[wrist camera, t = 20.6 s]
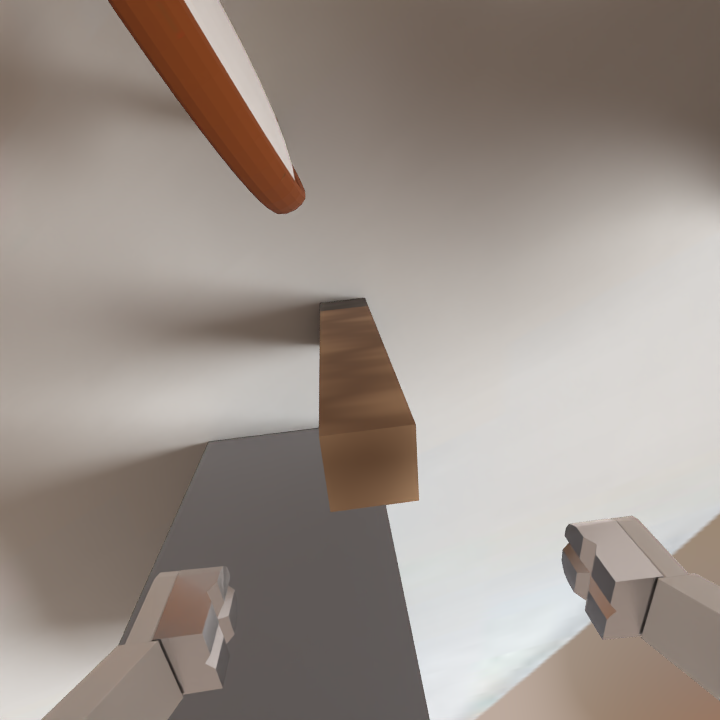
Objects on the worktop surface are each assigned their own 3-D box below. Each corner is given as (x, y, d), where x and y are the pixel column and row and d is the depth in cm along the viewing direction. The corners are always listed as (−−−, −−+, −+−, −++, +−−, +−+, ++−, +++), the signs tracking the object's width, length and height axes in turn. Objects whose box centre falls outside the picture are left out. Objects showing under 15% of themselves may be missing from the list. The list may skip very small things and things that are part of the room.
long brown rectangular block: (364, 298, 27) (415, 424, 13) (368, 340, 29) (418, 500, 14) (320, 303, 27) (318, 436, 13) (325, 345, 28) (330, 512, 14)
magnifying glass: (321, 190, 25) (325, 195, 6) (297, 205, 25) (230, 252, 6) (236, 33, 21) (-278, -918, 3) (209, 51, 22) (-432, -738, 3)
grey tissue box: (368, 421, 31) (437, 759, 13) (384, 588, 38) (443, 960, 20) (208, 441, 31) (38, 824, 12) (254, 607, 38) (190, 1008, 19)
